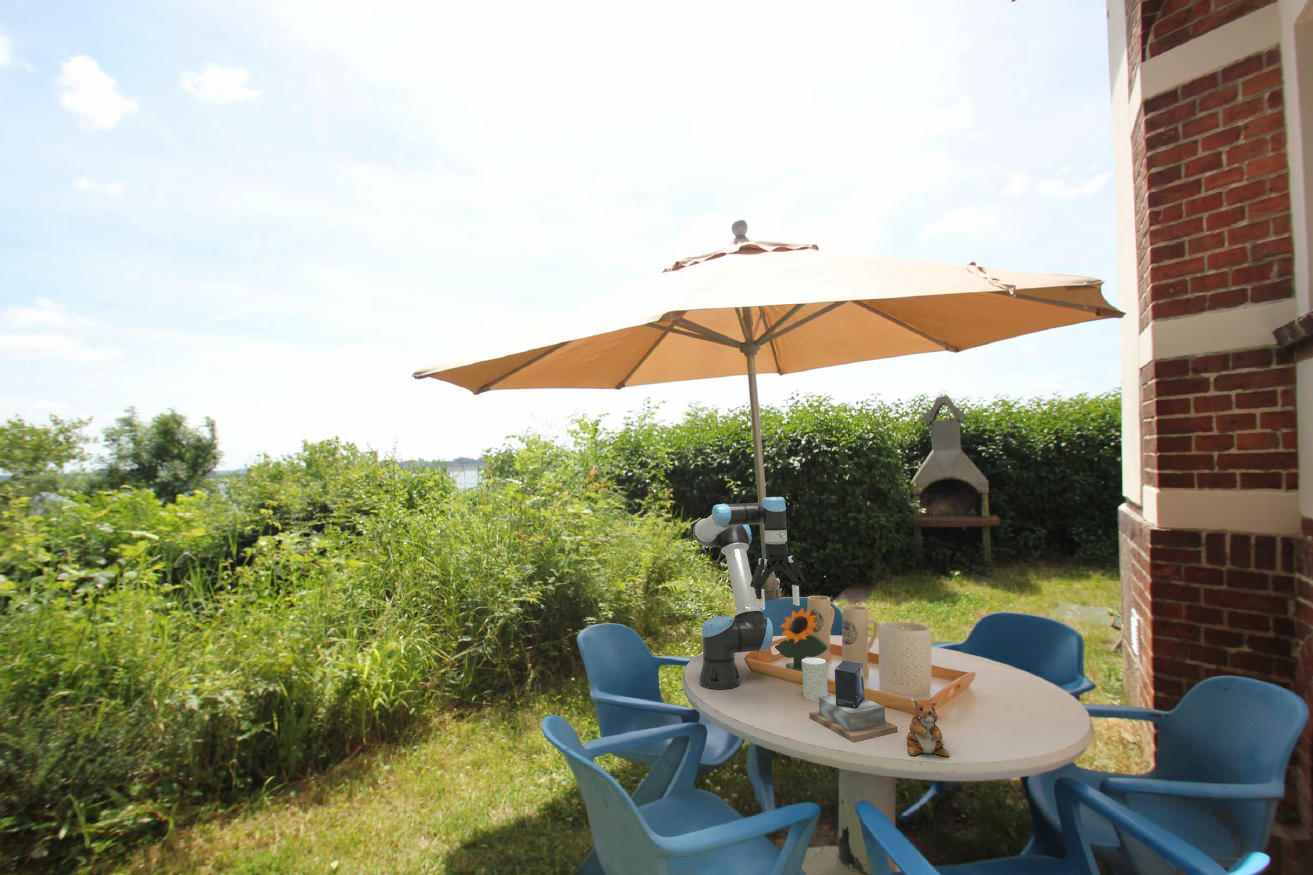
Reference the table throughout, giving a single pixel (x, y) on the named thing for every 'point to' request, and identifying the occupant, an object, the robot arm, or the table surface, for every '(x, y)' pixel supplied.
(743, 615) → the robot arm
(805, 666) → the cup
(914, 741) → the stuffed squirrel
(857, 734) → the building base
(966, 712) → the table surface
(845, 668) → the small box
